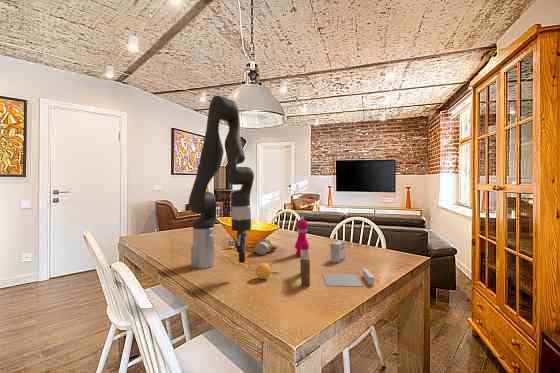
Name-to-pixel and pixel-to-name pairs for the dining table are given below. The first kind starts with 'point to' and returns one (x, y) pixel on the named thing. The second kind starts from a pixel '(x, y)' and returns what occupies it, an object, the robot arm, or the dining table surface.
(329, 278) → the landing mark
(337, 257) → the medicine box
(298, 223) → the magenta tall lumpy piece
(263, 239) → the ceramic sculpture
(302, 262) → the bridge
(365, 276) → the stopper wall
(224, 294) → the dining table surface
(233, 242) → the coffee cup
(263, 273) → the ball
